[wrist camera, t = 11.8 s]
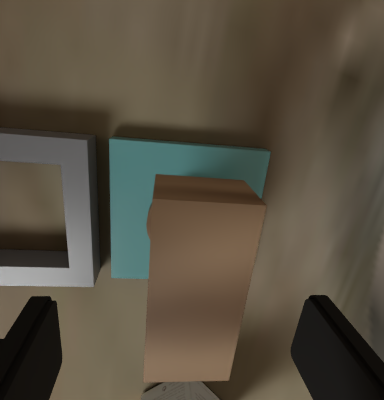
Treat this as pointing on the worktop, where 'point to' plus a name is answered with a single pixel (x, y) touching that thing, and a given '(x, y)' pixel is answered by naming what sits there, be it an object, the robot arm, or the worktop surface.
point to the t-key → (198, 275)
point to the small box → (180, 391)
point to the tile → (144, 186)
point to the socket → (73, 205)
